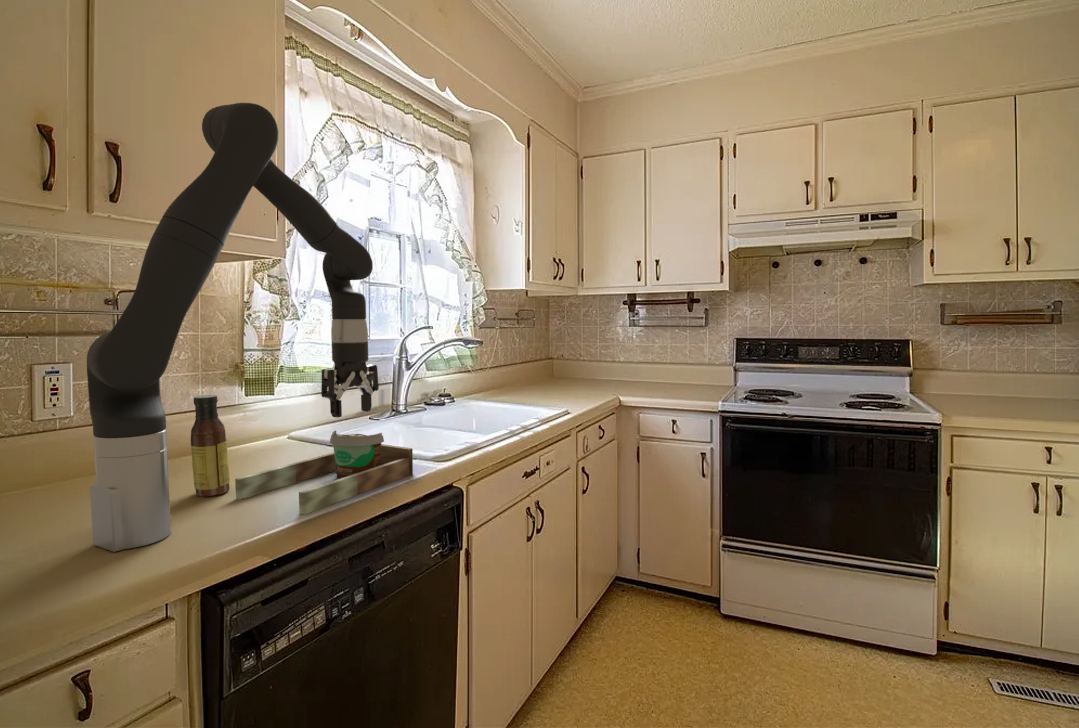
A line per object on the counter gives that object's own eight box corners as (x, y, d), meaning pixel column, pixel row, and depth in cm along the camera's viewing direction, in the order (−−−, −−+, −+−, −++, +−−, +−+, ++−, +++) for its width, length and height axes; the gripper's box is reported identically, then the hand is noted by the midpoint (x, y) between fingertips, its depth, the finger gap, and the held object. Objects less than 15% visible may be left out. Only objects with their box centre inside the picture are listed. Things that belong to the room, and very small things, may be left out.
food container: (319, 480, 120) (318, 435, 120) (334, 473, 126) (333, 430, 126) (371, 484, 118) (370, 438, 117) (384, 476, 124) (384, 432, 123)
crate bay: (303, 514, 99) (303, 482, 99) (235, 498, 108) (234, 468, 107) (412, 474, 126) (412, 448, 126) (351, 463, 134) (350, 439, 134)
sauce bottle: (222, 486, 116) (219, 392, 114) (235, 492, 112) (232, 395, 110) (187, 493, 111) (183, 395, 109) (199, 500, 107) (195, 398, 105)
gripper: (336, 342, 112) (339, 420, 113) (386, 339, 124) (387, 410, 126) (310, 341, 115) (313, 417, 116) (361, 338, 128) (363, 408, 129)
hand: (352, 413), depth 121 cm, fingers open, 8 cm apart
